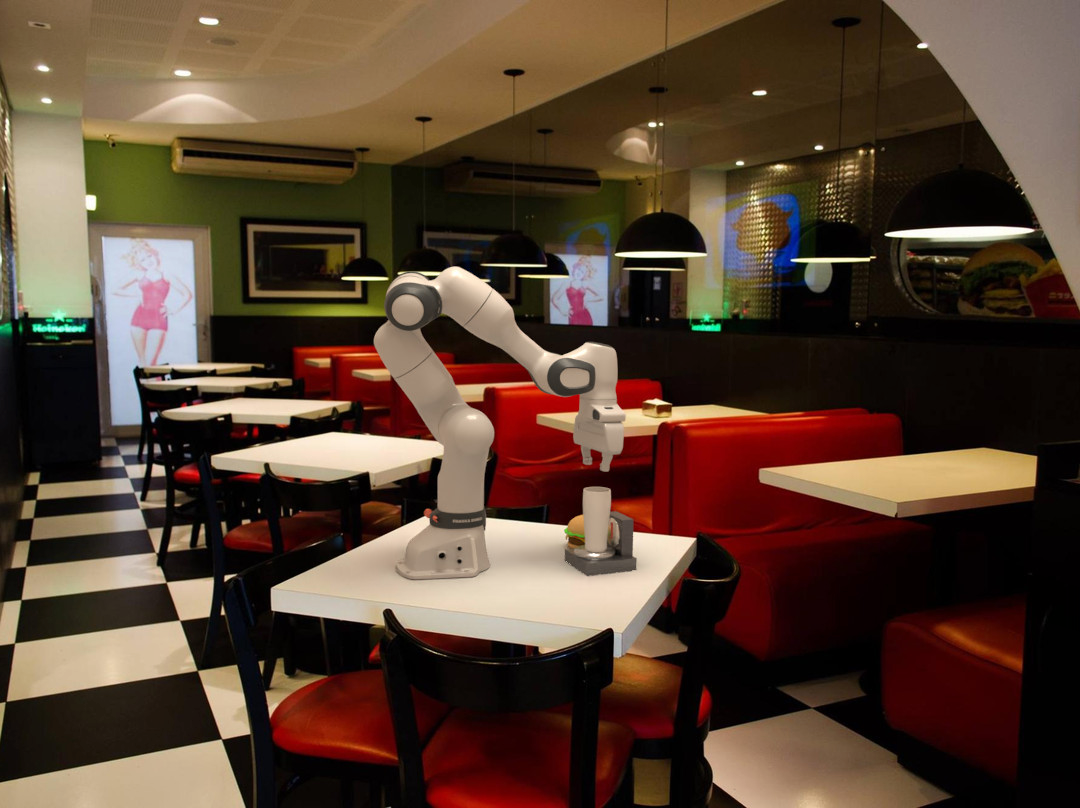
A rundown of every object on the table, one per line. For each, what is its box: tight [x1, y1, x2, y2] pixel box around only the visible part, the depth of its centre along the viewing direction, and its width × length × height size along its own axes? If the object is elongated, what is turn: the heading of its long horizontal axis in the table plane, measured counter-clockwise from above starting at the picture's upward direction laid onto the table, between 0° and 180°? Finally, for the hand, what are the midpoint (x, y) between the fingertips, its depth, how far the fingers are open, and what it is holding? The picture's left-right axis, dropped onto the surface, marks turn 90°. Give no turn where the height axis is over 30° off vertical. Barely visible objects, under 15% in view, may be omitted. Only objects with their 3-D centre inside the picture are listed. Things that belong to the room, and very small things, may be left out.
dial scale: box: [564, 510, 637, 577], centre depth 205 cm, size 13×13×12 cm
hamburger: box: [563, 514, 585, 549], centre depth 222 cm, size 12×12×9 cm
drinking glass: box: [582, 486, 612, 553], centre depth 204 cm, size 7×7×15 cm
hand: (595, 467), depth 203 cm, fingers open, 8 cm apart
